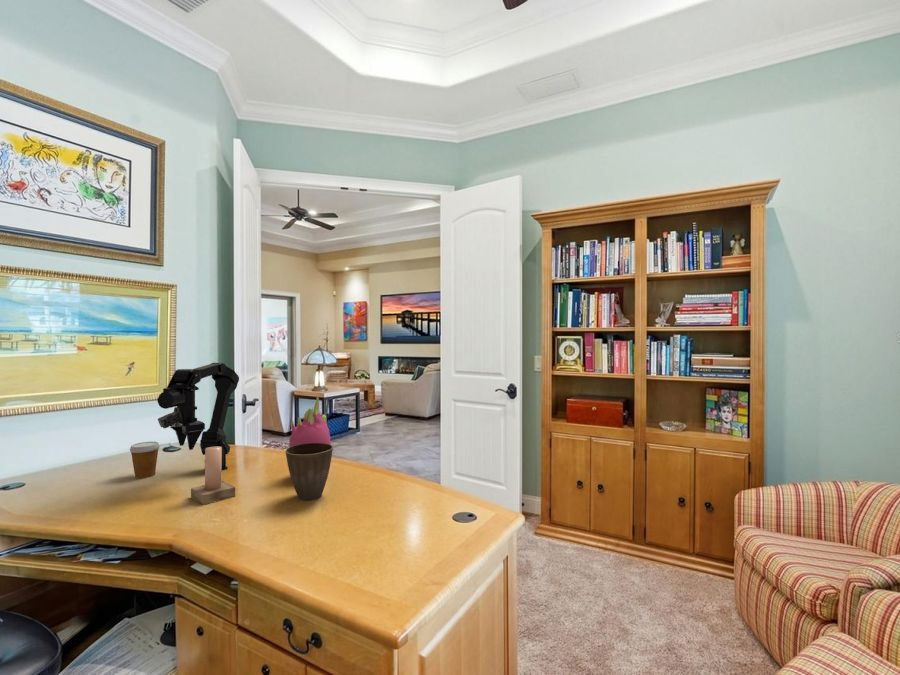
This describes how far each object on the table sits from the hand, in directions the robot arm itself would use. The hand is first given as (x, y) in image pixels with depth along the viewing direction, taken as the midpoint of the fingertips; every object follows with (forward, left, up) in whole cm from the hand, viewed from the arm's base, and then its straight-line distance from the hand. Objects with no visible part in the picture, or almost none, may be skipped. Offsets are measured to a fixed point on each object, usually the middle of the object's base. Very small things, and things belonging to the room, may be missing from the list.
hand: (186, 447), depth 161 cm
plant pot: (-22, +45, -13) cm, 52 cm away
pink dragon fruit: (-34, +26, -13) cm, 45 cm away
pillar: (-1, +21, -10) cm, 23 cm away
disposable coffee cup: (+7, -22, -13) cm, 27 cm away
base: (-1, +21, -13) cm, 25 cm away
